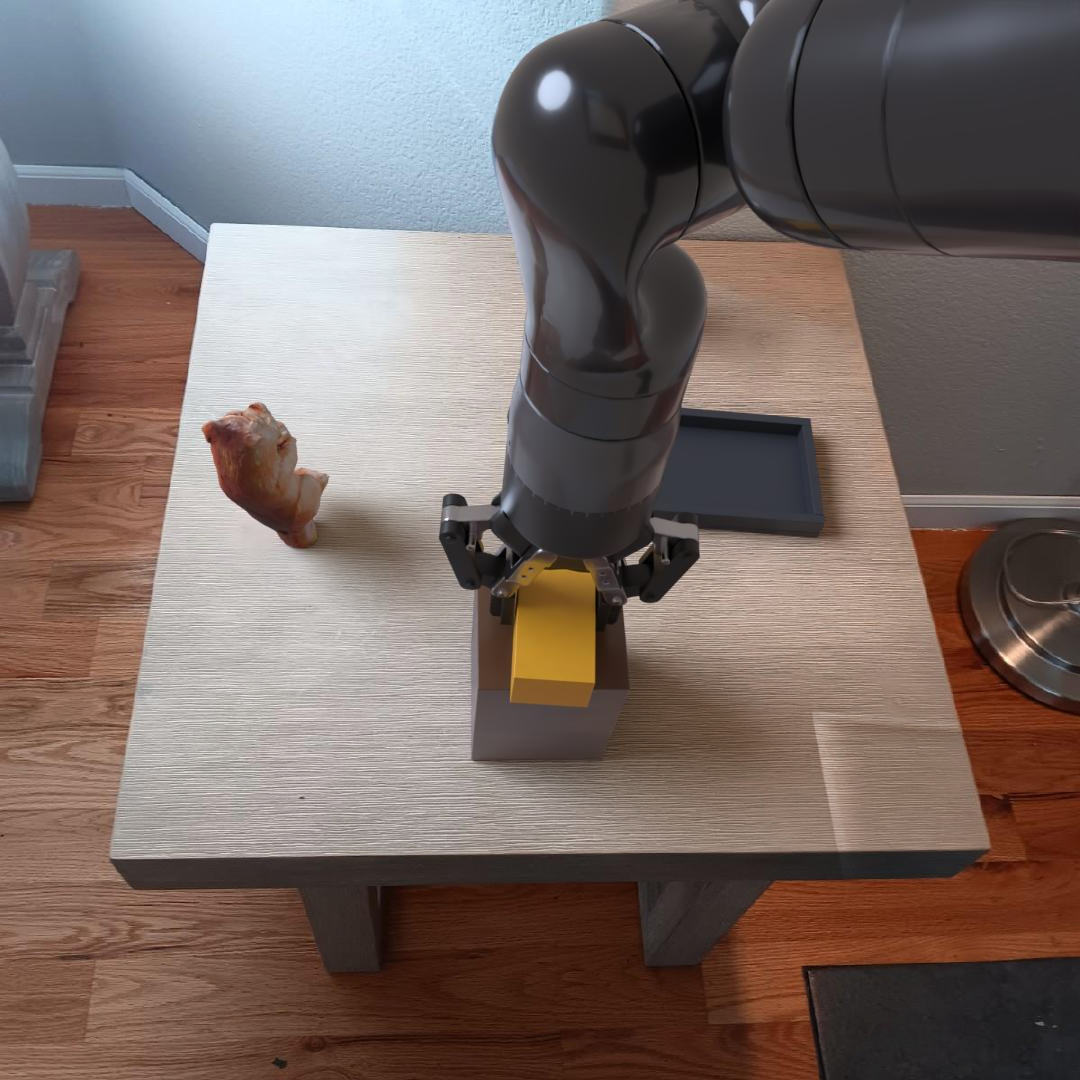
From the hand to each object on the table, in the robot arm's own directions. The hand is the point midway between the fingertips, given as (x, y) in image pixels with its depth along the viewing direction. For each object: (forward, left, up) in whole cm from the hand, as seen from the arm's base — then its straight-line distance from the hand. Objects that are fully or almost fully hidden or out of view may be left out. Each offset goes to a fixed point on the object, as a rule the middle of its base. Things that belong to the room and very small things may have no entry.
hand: (552, 614), depth 60 cm
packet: (0, 0, -1) cm, 1 cm away
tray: (+7, -24, -13) cm, 28 cm away
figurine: (+22, +7, -13) cm, 27 cm away
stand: (0, 0, -13) cm, 13 cm away
